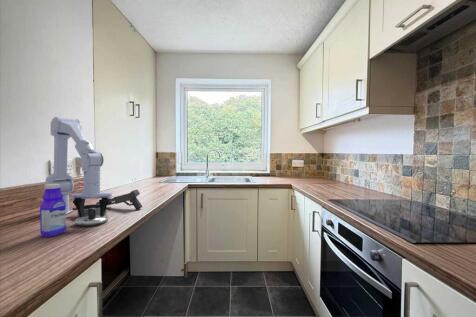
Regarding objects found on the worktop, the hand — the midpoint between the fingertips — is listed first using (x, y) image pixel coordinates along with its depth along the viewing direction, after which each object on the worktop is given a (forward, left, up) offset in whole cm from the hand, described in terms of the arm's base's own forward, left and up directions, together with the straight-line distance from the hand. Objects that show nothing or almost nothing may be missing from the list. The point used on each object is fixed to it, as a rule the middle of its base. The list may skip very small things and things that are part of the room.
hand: (92, 216), depth 98 cm
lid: (0, 0, -3) cm, 3 cm away
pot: (-5, +12, -3) cm, 13 cm away
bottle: (-7, -13, -3) cm, 15 cm away
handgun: (+2, +26, -3) cm, 26 cm away
